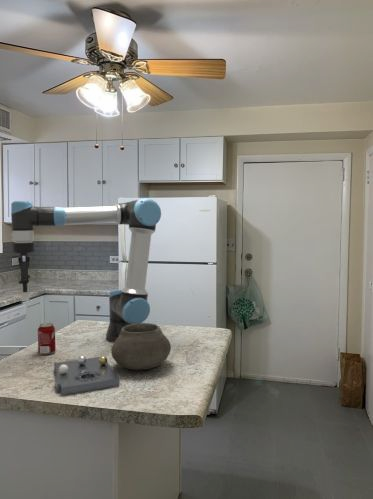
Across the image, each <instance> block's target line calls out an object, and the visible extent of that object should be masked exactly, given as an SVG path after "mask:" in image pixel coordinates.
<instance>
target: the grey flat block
mask: <svg viewBox="0 0 373 499" xmlns="http://www.w3.org/2000/svg"><path fill="white" fill-rule="evenodd" d="M100 357H101V356H95V357H89V358H87V357H86V363H85V364H84V365H80V364H78V362H77V359H74V360H67V361H61V362H60V361H59V362H53V363H54V364H53V368H54V369H53V370H54V373H55V380H54V383H55V388H56V393H60V395H61V397H62V396H69V395H74V394H80V393H87V392H90V391H91V392H93V391H96V390H97V391H98V390H103V389H107V388H108V389H110V388H114V387H119V386H120V382H121V381H120V378H121V376H120V373H119V372H118V370H117V369H116V368H112V366H111V365H110V364H109V363H108V361H107V363H106V364H105V365H101V364H100V363H99V358H100ZM64 364H65V365H67V366H68V371H67V372H66V373H65V374H62V373H60V372H59V367H60V366H61V365H64Z"/></svg>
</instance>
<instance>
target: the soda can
mask: <svg viewBox="0 0 373 499" xmlns="http://www.w3.org/2000/svg"><path fill="white" fill-rule="evenodd" d="M38 326H39V327H38V328H37V351H38V352H37V353H38V354H39V355H41V356H49V355H53V354H54V353H55V352H56V327H55V326H54V323H52V322H45V323H39V324H38Z"/></svg>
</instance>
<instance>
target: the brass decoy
mask: <svg viewBox="0 0 373 499" xmlns="http://www.w3.org/2000/svg"><path fill="white" fill-rule="evenodd" d="M99 357H100V358H99V363H100V364H101V365H105V364H106V363H107V362H108V358H107V356H105V355H104V356H103V355H101V356H99Z"/></svg>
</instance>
